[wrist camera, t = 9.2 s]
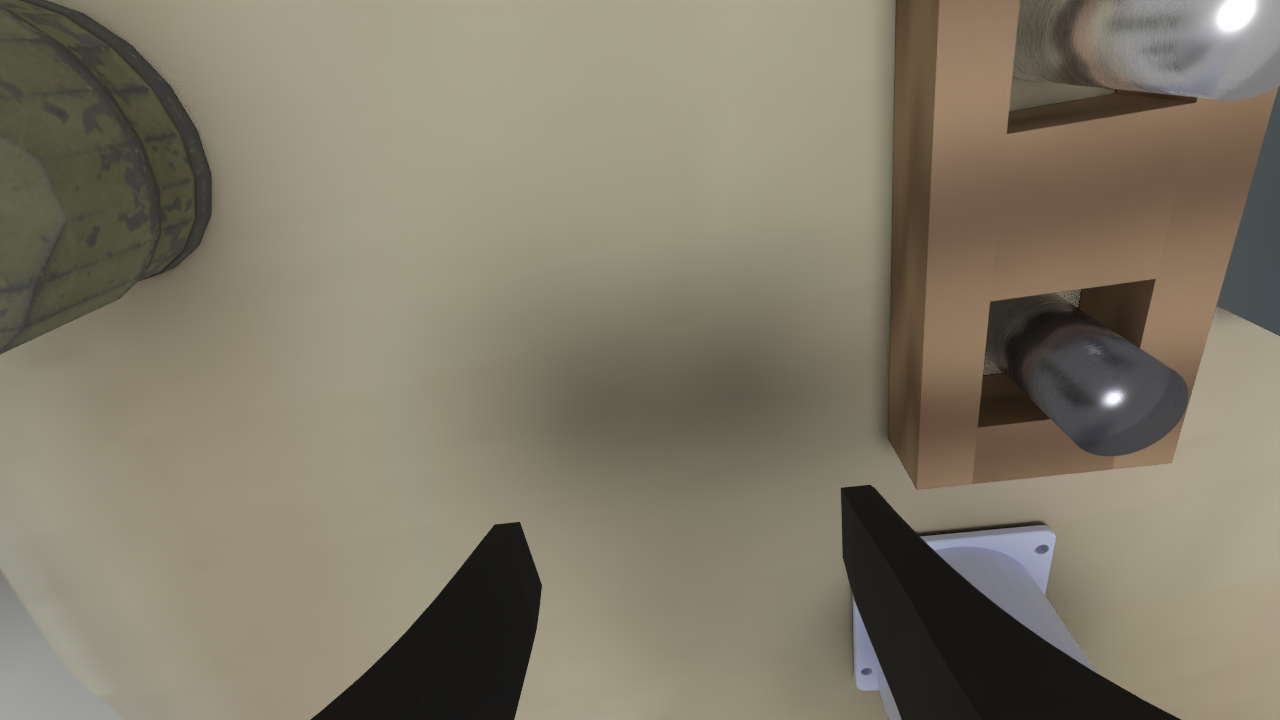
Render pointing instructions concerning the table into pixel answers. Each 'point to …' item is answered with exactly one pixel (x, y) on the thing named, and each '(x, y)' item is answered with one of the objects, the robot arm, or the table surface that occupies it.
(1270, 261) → the socket block
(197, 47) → the table surface
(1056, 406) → the black pin
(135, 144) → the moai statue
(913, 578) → the robot arm
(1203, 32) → the steel pin
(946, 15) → the rack
